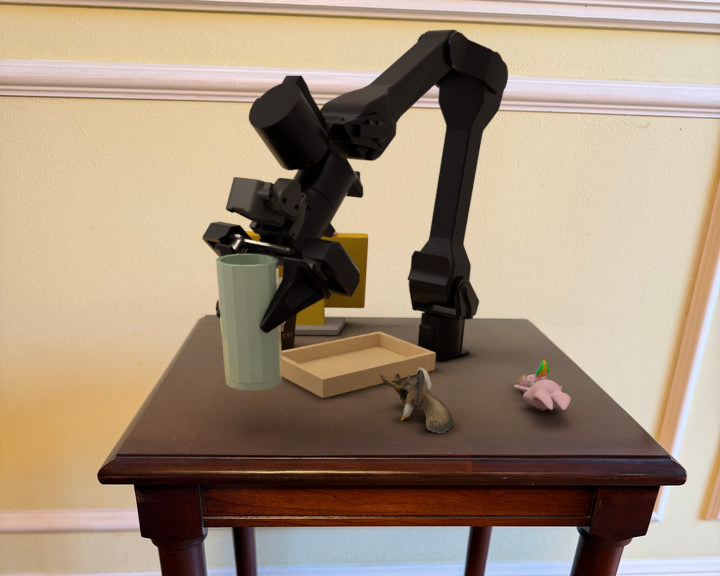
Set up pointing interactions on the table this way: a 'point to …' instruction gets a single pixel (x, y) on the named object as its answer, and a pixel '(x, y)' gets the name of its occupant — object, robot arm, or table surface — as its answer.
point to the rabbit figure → (542, 390)
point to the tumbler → (248, 321)
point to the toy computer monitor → (314, 315)
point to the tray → (353, 363)
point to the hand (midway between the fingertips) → (240, 324)
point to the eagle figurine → (422, 400)
